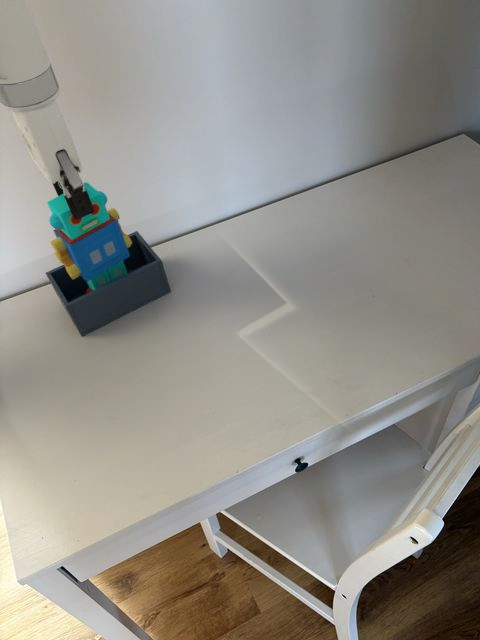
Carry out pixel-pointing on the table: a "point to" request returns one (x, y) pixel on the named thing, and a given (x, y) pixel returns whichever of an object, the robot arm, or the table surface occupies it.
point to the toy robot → (90, 240)
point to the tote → (112, 289)
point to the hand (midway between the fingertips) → (76, 204)
